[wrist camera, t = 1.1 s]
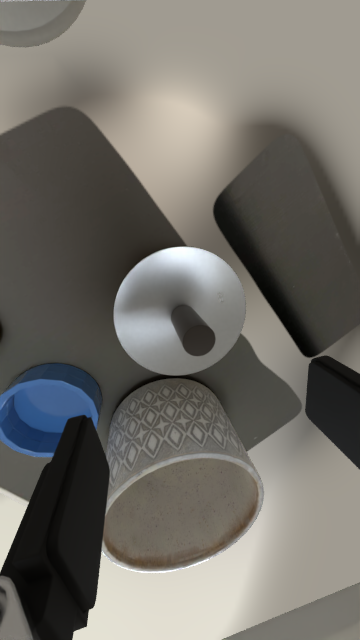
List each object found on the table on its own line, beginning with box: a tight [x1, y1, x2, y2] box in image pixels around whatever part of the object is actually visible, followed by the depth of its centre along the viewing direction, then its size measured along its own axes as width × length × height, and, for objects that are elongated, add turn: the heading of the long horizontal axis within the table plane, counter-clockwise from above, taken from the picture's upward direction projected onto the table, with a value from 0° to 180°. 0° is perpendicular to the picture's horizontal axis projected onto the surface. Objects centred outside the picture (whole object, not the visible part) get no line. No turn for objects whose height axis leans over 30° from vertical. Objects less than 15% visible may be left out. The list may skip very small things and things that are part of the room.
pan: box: [0, 363, 102, 457], centre depth 30 cm, size 12×12×4 cm
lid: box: [113, 246, 246, 376], centre depth 20 cm, size 14×14×7 cm
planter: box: [101, 378, 264, 573], centre depth 30 cm, size 19×19×14 cm
